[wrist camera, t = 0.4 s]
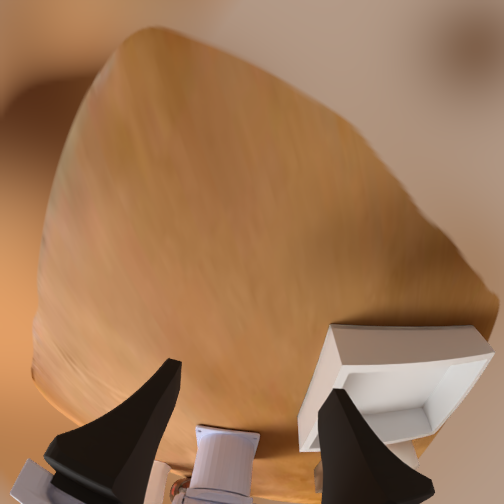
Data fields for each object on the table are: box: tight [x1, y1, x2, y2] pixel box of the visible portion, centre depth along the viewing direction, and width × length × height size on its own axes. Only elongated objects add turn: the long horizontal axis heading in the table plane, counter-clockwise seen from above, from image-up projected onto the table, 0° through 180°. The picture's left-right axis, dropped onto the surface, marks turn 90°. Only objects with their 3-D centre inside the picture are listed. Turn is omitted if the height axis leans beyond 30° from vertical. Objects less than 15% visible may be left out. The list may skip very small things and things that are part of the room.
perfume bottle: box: [144, 460, 171, 504], centre depth 28 cm, size 5×4×15 cm
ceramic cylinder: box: [386, 440, 419, 470], centre depth 25 cm, size 5×5×7 cm
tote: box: [297, 324, 495, 452], centre depth 21 cm, size 14×18×5 cm
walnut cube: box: [314, 460, 323, 493], centre depth 29 cm, size 5×5×5 cm
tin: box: [170, 478, 191, 502], centre depth 34 cm, size 15×3×8 cm, turn 35°
